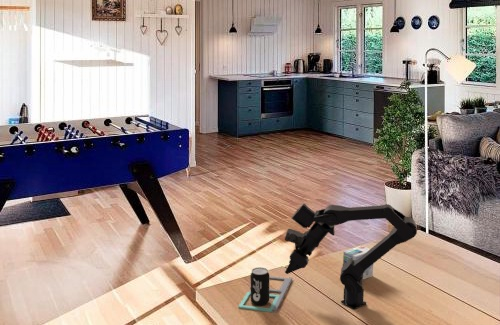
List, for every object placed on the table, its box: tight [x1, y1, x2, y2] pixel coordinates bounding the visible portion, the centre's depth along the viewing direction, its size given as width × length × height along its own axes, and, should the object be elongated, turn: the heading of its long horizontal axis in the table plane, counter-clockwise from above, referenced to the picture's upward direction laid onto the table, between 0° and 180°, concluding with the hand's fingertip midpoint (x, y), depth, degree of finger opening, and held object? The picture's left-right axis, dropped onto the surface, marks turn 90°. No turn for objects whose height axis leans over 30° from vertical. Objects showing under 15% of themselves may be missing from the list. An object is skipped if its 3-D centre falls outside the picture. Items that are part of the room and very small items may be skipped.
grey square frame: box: [249, 275, 289, 294], centre depth 209 cm, size 12×12×1 cm
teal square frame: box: [237, 291, 280, 313], centre depth 195 cm, size 12×12×1 cm
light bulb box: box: [342, 245, 374, 280], centre depth 215 cm, size 11×7×11 cm, turn 126°
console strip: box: [269, 277, 293, 313], centre depth 202 cm, size 27×9×1 cm, turn 164°
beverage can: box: [250, 267, 270, 307], centre depth 194 cm, size 7×7×12 cm
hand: (288, 268), depth 196 cm, fingers open, 9 cm apart
